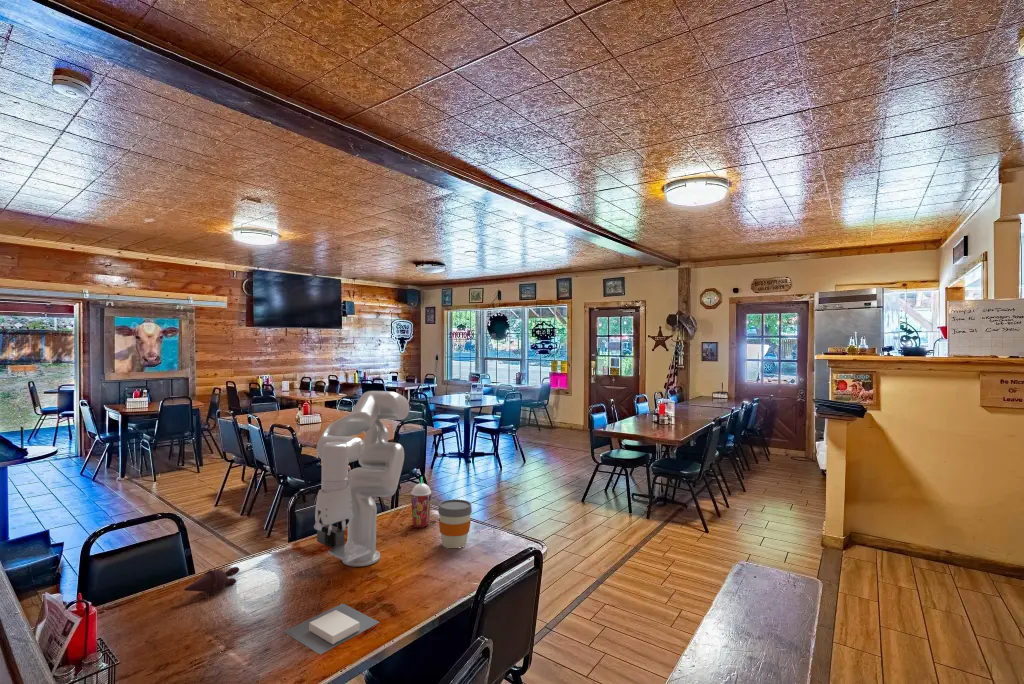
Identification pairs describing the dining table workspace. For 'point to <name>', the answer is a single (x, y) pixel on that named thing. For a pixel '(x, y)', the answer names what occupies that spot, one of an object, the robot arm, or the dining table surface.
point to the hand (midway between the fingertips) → (334, 543)
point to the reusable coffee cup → (454, 522)
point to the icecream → (214, 581)
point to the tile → (334, 626)
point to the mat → (318, 643)
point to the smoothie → (421, 504)
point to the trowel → (342, 546)
